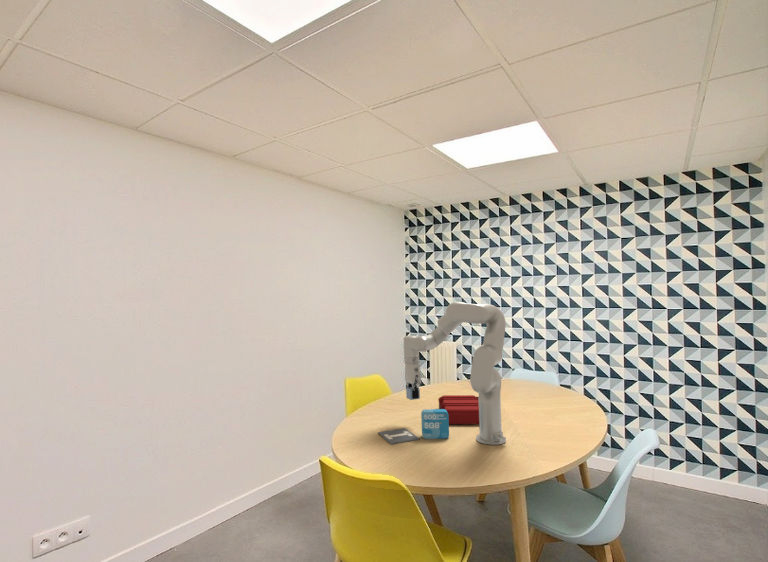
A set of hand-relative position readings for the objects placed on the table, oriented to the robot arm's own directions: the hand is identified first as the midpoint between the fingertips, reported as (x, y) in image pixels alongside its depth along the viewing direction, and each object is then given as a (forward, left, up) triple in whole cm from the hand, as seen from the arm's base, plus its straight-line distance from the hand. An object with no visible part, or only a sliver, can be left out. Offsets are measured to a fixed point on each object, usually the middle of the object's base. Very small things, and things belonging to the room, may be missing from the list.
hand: (413, 396), depth 196 cm
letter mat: (-11, +13, -14) cm, 22 cm away
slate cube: (0, 0, -1) cm, 1 cm away
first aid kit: (+4, -30, -15) cm, 34 cm away
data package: (-19, -2, -15) cm, 24 cm away
